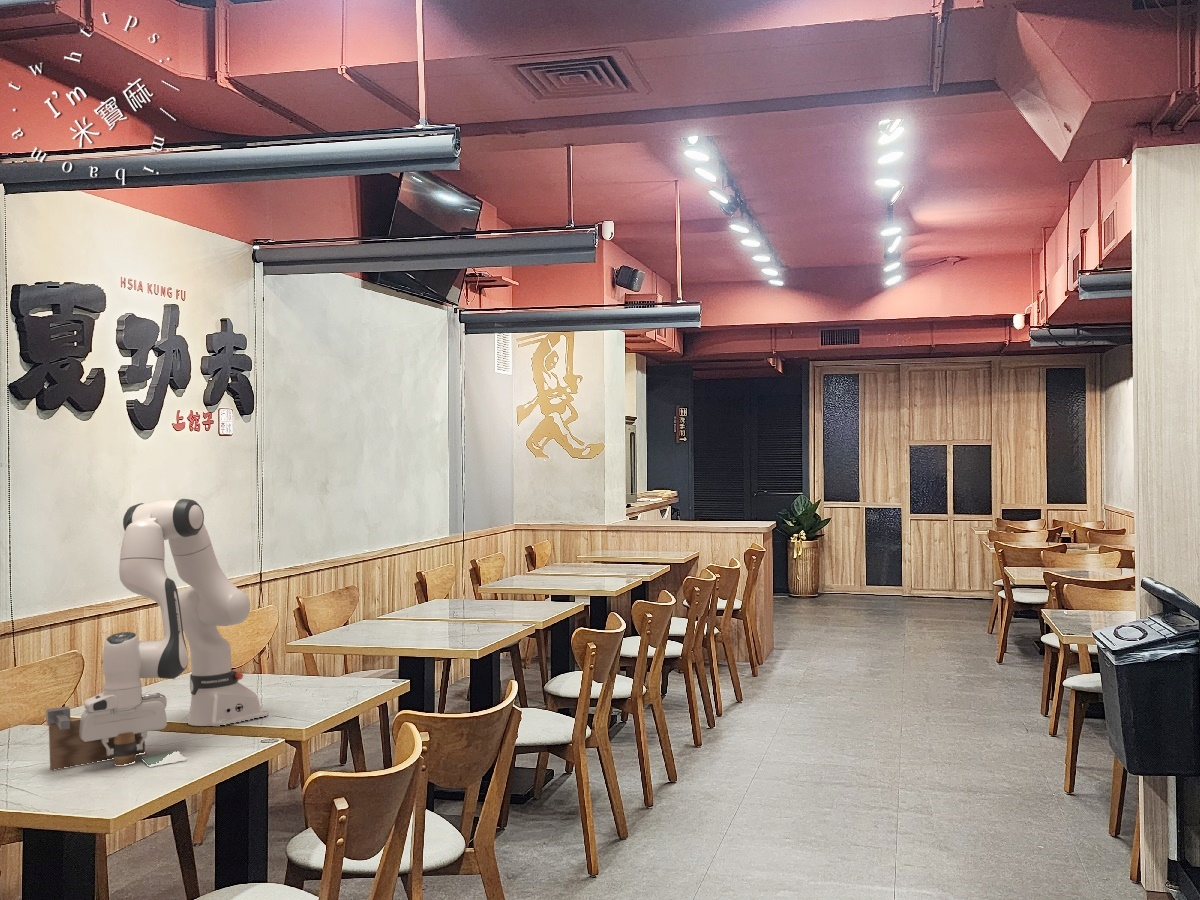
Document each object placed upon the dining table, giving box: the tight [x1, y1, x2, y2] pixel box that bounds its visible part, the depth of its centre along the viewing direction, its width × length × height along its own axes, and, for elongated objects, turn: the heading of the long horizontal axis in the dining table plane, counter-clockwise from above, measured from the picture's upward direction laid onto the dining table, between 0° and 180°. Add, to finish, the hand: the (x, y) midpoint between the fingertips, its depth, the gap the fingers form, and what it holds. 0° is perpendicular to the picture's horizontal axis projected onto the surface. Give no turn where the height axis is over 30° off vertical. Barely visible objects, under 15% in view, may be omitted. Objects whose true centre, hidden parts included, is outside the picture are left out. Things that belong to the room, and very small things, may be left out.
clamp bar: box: [45, 706, 71, 730], centre depth 262 cm, size 5×14×3 cm, turn 35°
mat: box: [140, 750, 178, 765], centre depth 270 cm, size 9×9×1 cm
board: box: [48, 717, 146, 771], centre depth 271 cm, size 22×2×12 cm, turn 125°
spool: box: [113, 732, 137, 765], centre depth 269 cm, size 5×5×8 cm
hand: (124, 752), depth 269 cm, fingers closed on spool, 5 cm apart
